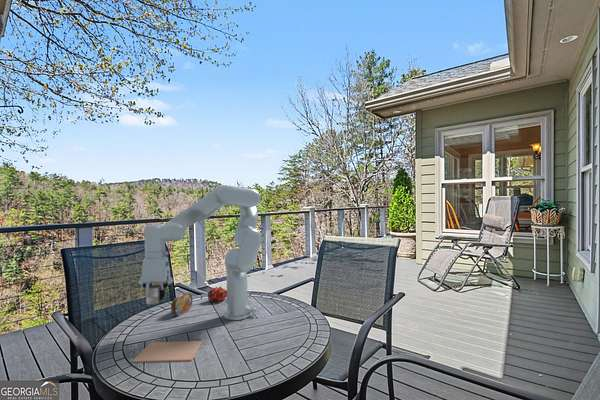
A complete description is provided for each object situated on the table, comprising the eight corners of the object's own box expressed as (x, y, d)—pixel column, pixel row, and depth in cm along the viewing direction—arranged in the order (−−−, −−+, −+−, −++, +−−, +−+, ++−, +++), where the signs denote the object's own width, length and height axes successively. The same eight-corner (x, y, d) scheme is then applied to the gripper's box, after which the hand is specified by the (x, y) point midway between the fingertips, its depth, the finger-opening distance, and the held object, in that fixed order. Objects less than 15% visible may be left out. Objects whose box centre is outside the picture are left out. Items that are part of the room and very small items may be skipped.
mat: (202, 342, 124) (202, 340, 124) (191, 360, 110) (191, 359, 110) (150, 343, 123) (150, 342, 123) (132, 362, 109) (132, 361, 109)
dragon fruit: (205, 306, 169) (226, 304, 176) (212, 299, 164) (233, 298, 171) (203, 291, 173) (223, 290, 181) (209, 284, 168) (230, 283, 176)
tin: (175, 318, 148) (175, 300, 148) (169, 318, 149) (169, 300, 149) (193, 307, 163) (192, 290, 163) (187, 306, 164) (187, 290, 164)
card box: (165, 296, 135) (165, 282, 135) (156, 304, 126) (156, 289, 126) (156, 297, 135) (155, 283, 135) (146, 304, 126) (146, 289, 126)
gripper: (179, 252, 134) (180, 295, 135) (138, 253, 134) (139, 296, 134) (172, 255, 127) (173, 301, 127) (129, 256, 126) (131, 302, 127)
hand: (156, 298), depth 131 cm, fingers closed on card box, 4 cm apart
